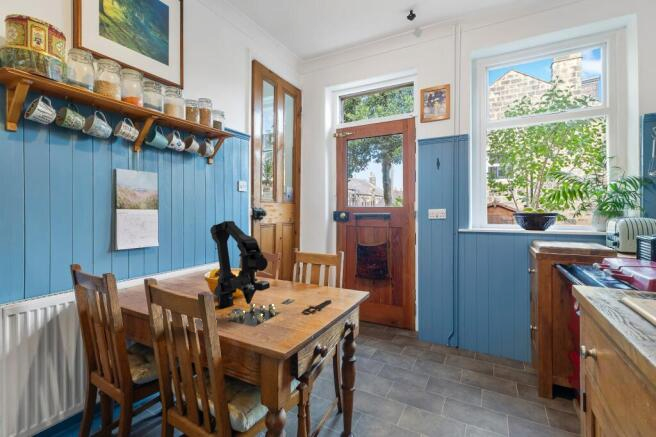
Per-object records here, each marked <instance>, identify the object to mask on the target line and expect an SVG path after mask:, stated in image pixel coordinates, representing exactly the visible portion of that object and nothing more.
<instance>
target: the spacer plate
mask: <svg viewBox="0 0 656 437" xmlns="http://www.w3.org/2000/svg"><path fill="white" fill-rule="evenodd" d="M280 314H281V312H279V311H276V307H275V305H274V303H269V304H268V309H266V306H265V305H264V304H261V305H259V308H257V307H256V303H254V302H253V303H252V302H250V304H249V311H246V310H245V309H243V310H240V311H239V315H237V316H236V312H235V311H232V310H231V311H230V313H229V320H228V322H231V323H236V324H240V325H245V326H248V327H249V326H250V327H253V328H254V327H257V326H259V325H261V324H263V323H264V322H267V321H269V320H270V319H273V318H275V317H276V316H278V315H280Z"/></svg>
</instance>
